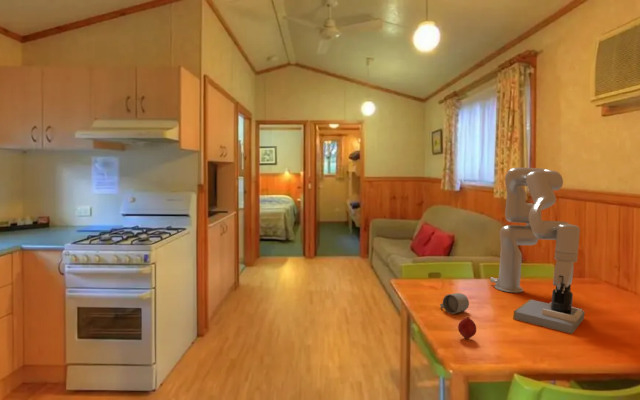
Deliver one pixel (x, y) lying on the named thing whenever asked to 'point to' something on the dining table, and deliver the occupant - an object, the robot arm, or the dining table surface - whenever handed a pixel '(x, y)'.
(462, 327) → the onion
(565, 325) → the dock
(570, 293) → the supplement bottle
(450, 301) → the ceramic mug
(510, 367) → the dining table surface
